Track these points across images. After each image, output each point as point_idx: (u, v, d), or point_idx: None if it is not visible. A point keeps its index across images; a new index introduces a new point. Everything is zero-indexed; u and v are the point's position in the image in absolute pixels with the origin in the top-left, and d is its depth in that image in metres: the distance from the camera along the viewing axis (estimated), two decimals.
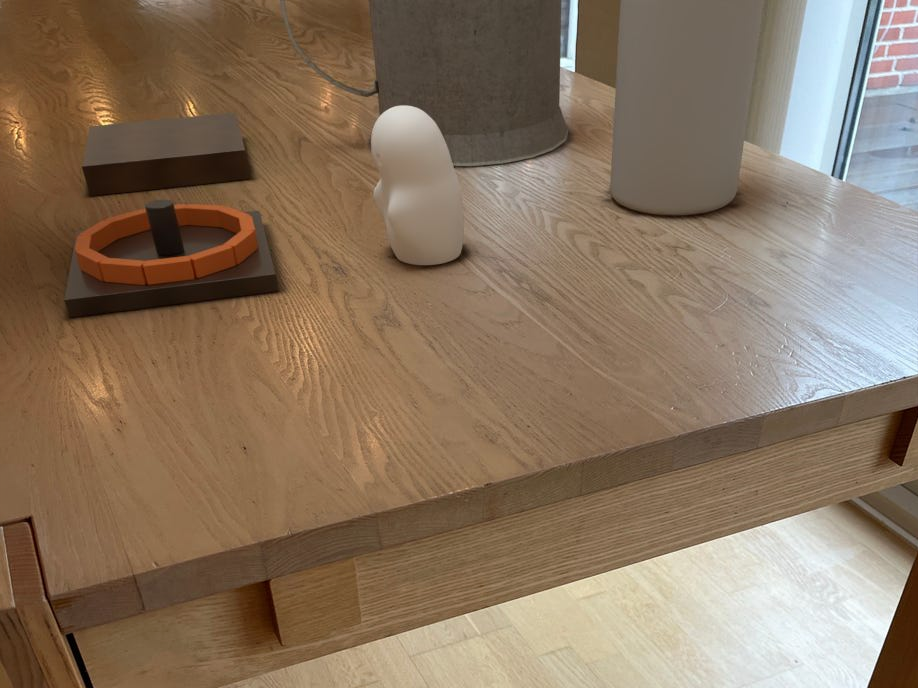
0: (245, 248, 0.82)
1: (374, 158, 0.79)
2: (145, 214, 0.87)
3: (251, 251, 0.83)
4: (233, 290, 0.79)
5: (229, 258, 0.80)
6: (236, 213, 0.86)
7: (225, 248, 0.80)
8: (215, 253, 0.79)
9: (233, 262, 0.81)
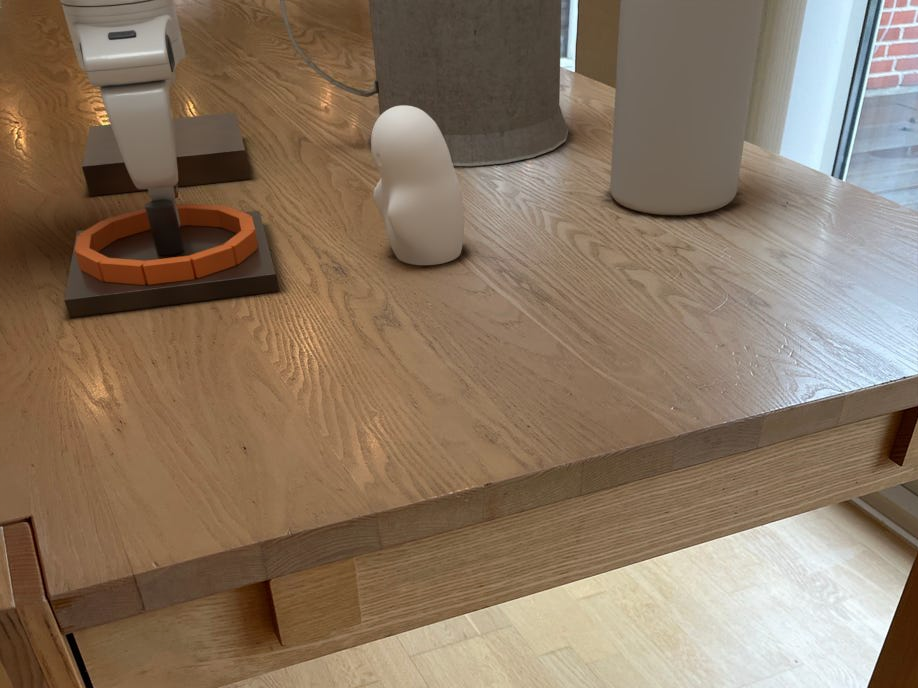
0: (245, 248, 0.82)
1: (374, 158, 0.79)
2: (145, 214, 0.87)
3: (251, 251, 0.83)
4: (233, 290, 0.79)
5: (229, 258, 0.80)
6: (236, 213, 0.86)
7: (225, 248, 0.80)
8: (215, 253, 0.79)
9: (233, 262, 0.81)
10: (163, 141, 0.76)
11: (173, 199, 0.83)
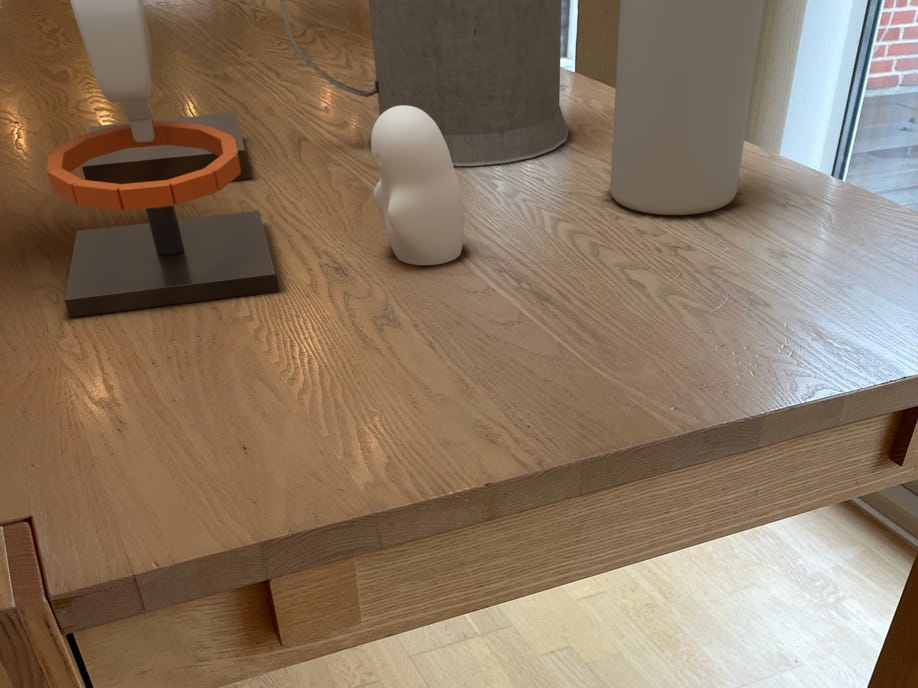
0: (227, 172, 0.78)
1: (374, 158, 0.79)
2: (121, 131, 0.83)
3: (233, 176, 0.79)
4: (233, 290, 0.79)
5: (211, 184, 0.76)
6: (217, 133, 0.82)
7: (206, 172, 0.76)
8: (195, 178, 0.75)
9: (214, 188, 0.77)
10: (134, 48, 0.72)
11: (147, 108, 0.80)
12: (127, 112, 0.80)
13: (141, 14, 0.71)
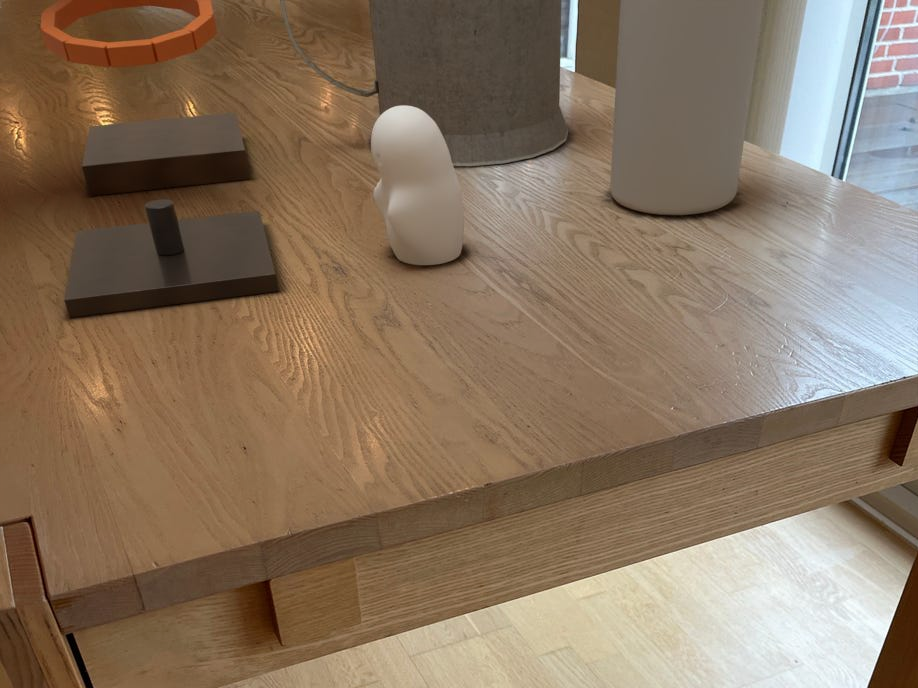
0: (204, 33, 0.86)
1: (374, 158, 0.79)
2: None
3: (209, 37, 0.87)
4: (233, 290, 0.79)
5: (189, 44, 0.85)
6: None
7: (184, 33, 0.84)
8: (175, 38, 0.83)
9: (192, 48, 0.85)
10: None
11: None
12: None
13: None
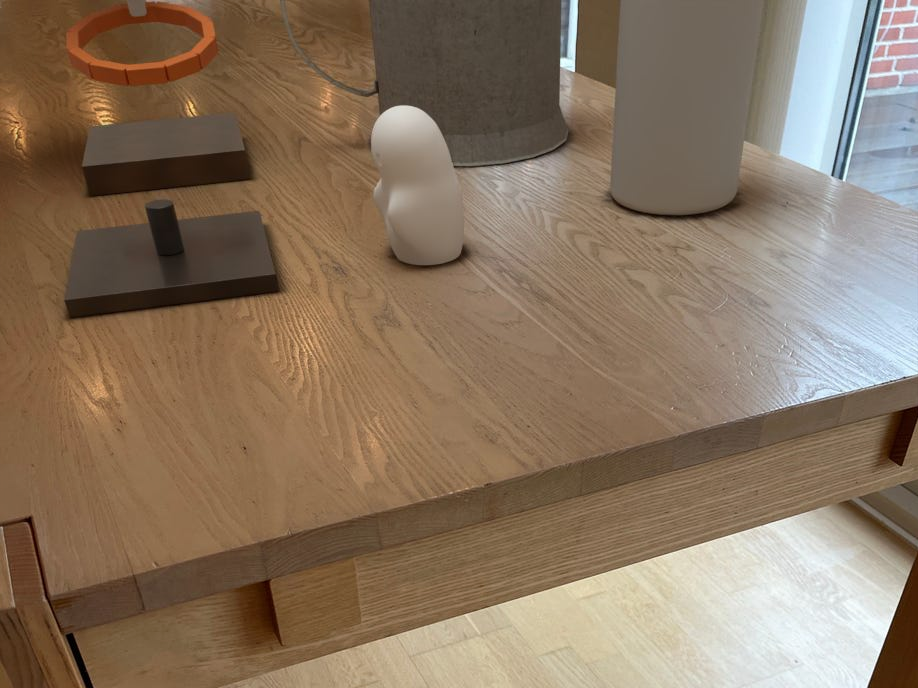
0: (208, 54, 1.00)
1: (374, 158, 0.79)
2: (121, 11, 1.04)
3: (212, 57, 1.01)
4: (233, 290, 0.79)
5: (195, 64, 0.99)
6: (198, 16, 1.03)
7: (191, 56, 0.98)
8: (184, 60, 0.98)
9: (198, 68, 0.99)
10: None
11: None
12: None
13: None
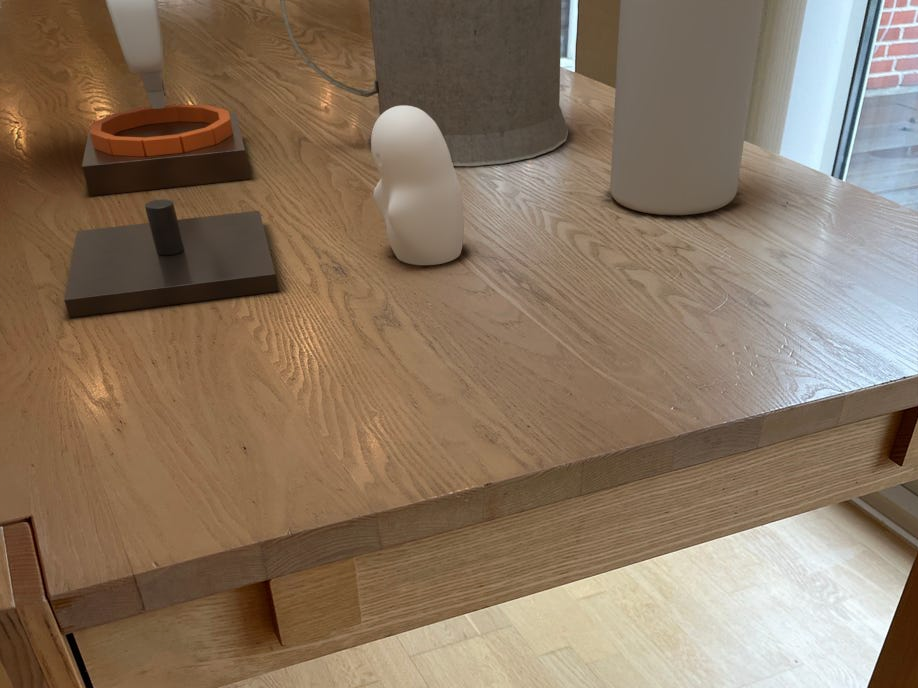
0: (222, 131, 1.05)
1: (374, 158, 0.79)
2: (144, 111, 1.11)
3: (227, 136, 1.06)
4: (233, 290, 0.79)
5: (210, 138, 1.03)
6: (216, 109, 1.09)
7: (206, 129, 1.03)
8: (199, 133, 1.02)
9: (213, 141, 1.04)
10: (152, 34, 0.98)
11: (160, 82, 1.06)
12: (145, 85, 1.06)
13: (156, 9, 0.98)
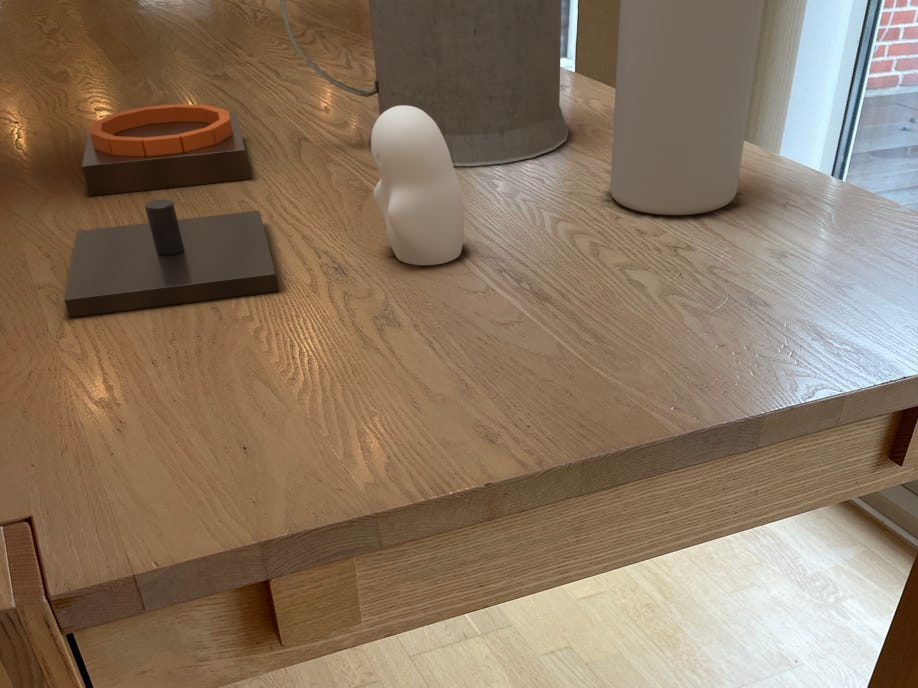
0: (222, 131, 1.05)
1: (374, 158, 0.79)
2: (144, 111, 1.11)
3: (227, 136, 1.06)
4: (233, 290, 0.79)
5: (210, 138, 1.03)
6: (216, 109, 1.09)
7: (206, 129, 1.03)
8: (199, 133, 1.02)
9: (213, 141, 1.04)
10: None
11: None
12: None
13: None
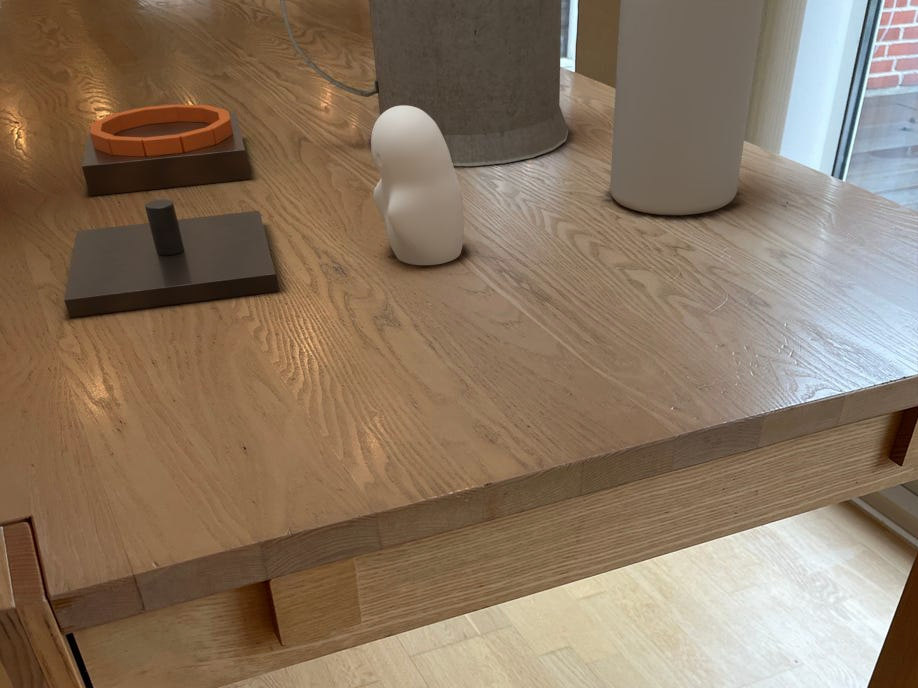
0: (222, 131, 1.05)
1: (374, 158, 0.79)
2: (144, 111, 1.11)
3: (227, 136, 1.06)
4: (233, 290, 0.79)
5: (210, 138, 1.03)
6: (216, 109, 1.09)
7: (206, 129, 1.03)
8: (199, 133, 1.02)
9: (213, 141, 1.04)
10: None
11: None
12: None
13: None
